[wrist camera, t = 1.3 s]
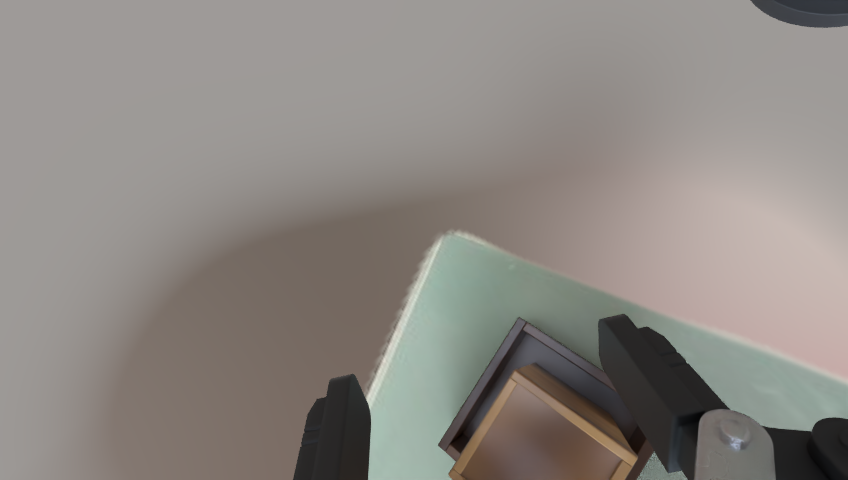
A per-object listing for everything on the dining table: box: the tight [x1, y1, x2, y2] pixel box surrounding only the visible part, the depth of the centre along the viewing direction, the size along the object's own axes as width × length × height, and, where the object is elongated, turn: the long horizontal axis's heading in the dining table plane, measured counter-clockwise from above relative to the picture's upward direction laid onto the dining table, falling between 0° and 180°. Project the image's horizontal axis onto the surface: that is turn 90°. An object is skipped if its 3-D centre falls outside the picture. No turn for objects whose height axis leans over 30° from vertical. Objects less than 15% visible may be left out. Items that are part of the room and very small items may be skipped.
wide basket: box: [438, 317, 654, 480], centre depth 25 cm, size 10×10×4 cm
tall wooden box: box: [449, 362, 638, 480], centre depth 22 cm, size 6×6×11 cm
